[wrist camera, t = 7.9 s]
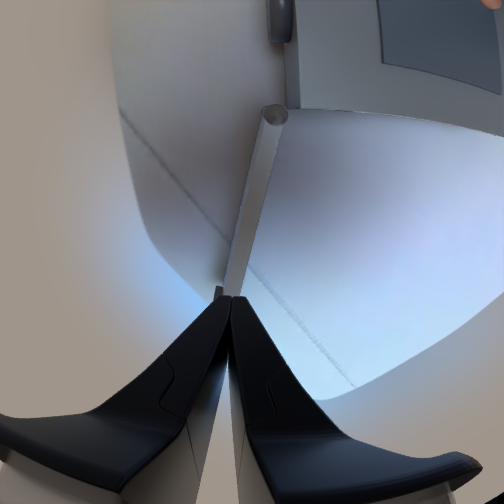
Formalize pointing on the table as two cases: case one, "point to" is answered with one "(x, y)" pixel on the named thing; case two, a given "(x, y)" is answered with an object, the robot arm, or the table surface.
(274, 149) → the side door
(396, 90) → the camera box
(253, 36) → the table surface
